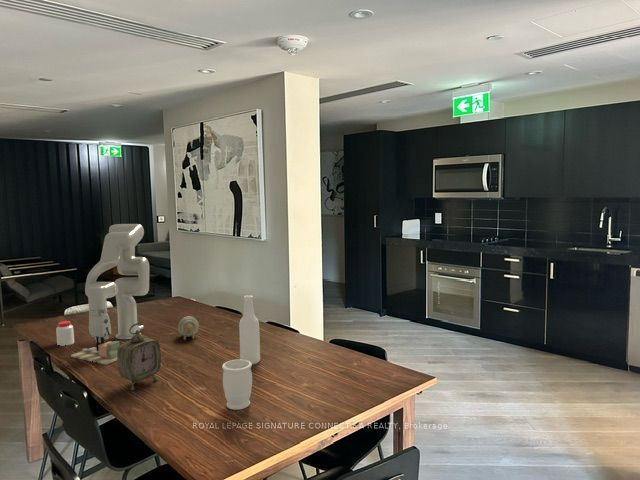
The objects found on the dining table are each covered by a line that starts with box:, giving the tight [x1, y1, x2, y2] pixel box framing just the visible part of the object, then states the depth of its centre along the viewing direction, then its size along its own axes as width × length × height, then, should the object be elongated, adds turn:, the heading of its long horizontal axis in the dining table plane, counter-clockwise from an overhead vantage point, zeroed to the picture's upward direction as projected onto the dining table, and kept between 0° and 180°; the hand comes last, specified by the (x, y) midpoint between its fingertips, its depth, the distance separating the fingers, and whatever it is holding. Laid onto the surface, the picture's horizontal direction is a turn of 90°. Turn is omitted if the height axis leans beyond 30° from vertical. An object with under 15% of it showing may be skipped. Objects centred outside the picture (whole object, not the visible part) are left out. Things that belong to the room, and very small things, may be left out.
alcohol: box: [238, 294, 261, 366], centre depth 207 cm, size 9×9×30 cm
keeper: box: [98, 340, 112, 358], centre depth 215 cm, size 5×6×6 cm
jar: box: [221, 359, 253, 411], centre depth 166 cm, size 11×10×15 cm
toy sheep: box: [177, 315, 200, 341], centre depth 246 cm, size 11×17×11 cm, turn 23°
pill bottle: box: [55, 320, 75, 347], centre depth 238 cm, size 8×8×11 cm
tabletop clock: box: [116, 322, 162, 391], centre depth 185 cm, size 14×9×25 cm, turn 148°
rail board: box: [70, 340, 121, 366], centre depth 218 cm, size 24×12×8 cm, turn 63°
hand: (100, 350), depth 218 cm, fingers closed
